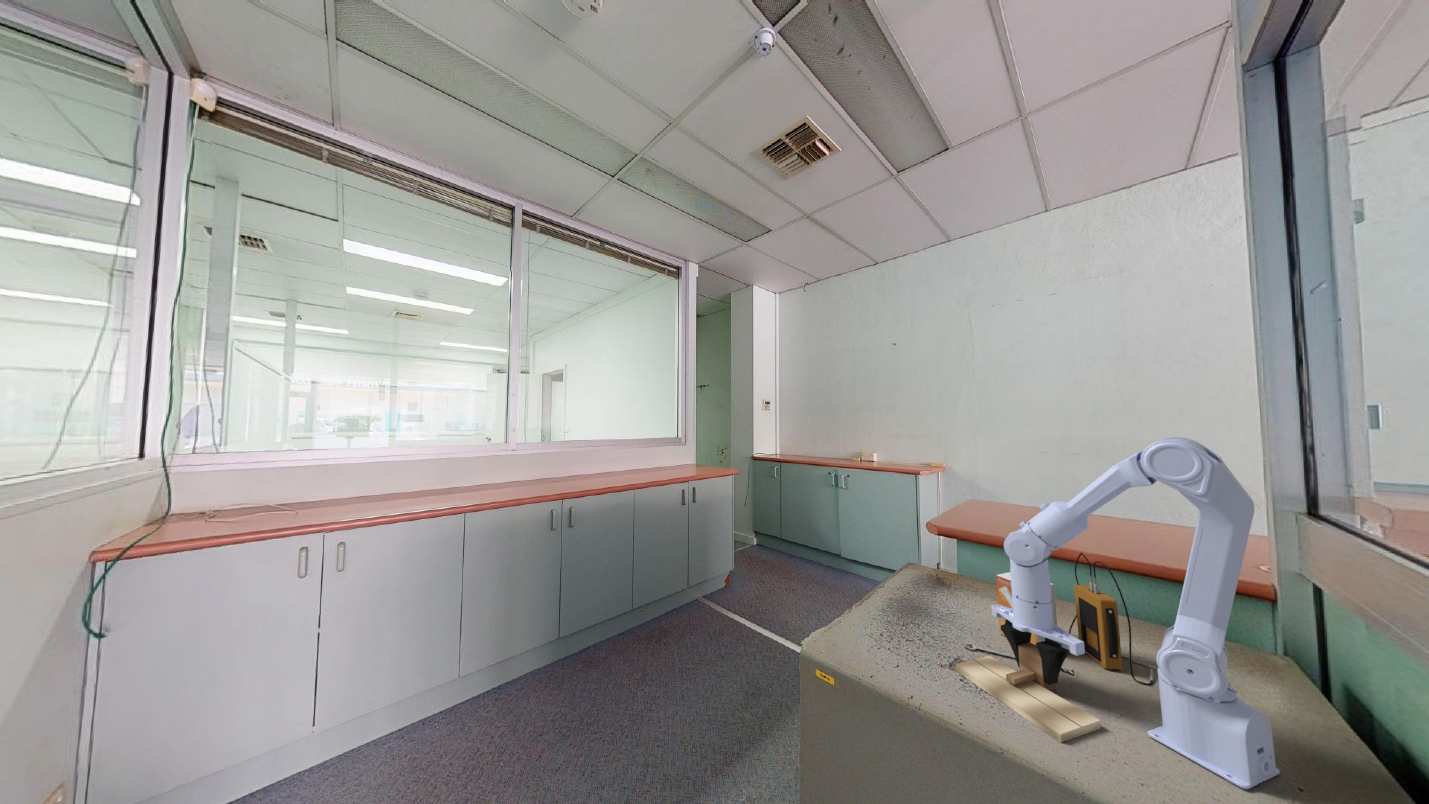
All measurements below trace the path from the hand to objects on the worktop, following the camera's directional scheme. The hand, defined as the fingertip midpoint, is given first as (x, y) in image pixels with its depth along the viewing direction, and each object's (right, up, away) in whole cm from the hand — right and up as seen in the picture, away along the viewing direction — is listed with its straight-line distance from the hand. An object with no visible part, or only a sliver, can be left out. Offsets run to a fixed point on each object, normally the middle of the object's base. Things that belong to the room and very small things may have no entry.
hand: (1037, 674), depth 71 cm
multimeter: (+21, -2, +6) cm, 22 cm away
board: (-5, -2, -3) cm, 6 cm away
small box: (+9, -2, +14) cm, 17 cm away
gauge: (-2, -2, -1) cm, 3 cm away
